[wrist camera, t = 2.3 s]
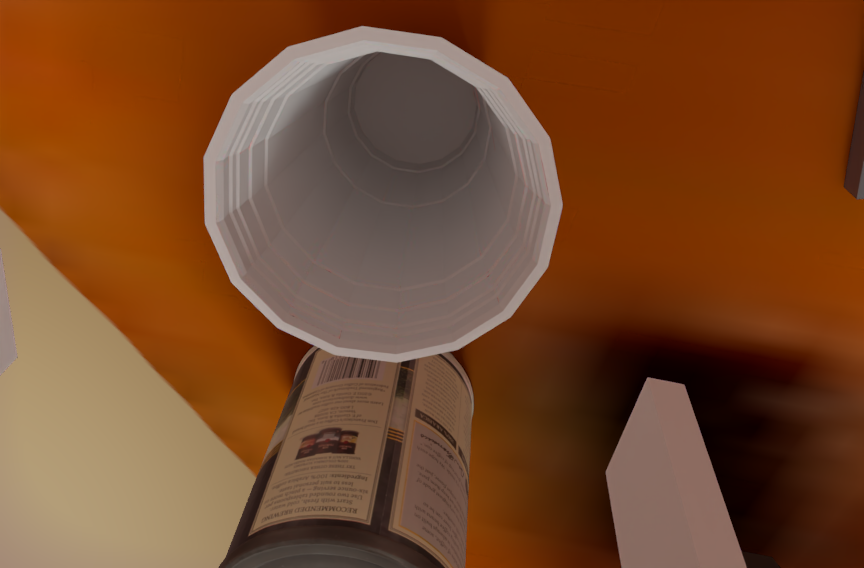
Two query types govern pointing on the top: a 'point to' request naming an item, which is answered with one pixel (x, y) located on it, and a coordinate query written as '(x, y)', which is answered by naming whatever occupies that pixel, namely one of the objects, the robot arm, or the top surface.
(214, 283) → the top surface
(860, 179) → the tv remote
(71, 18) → the top surface
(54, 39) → the top surface
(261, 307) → the plastic cup
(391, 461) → the coffee can
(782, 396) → the top surface
